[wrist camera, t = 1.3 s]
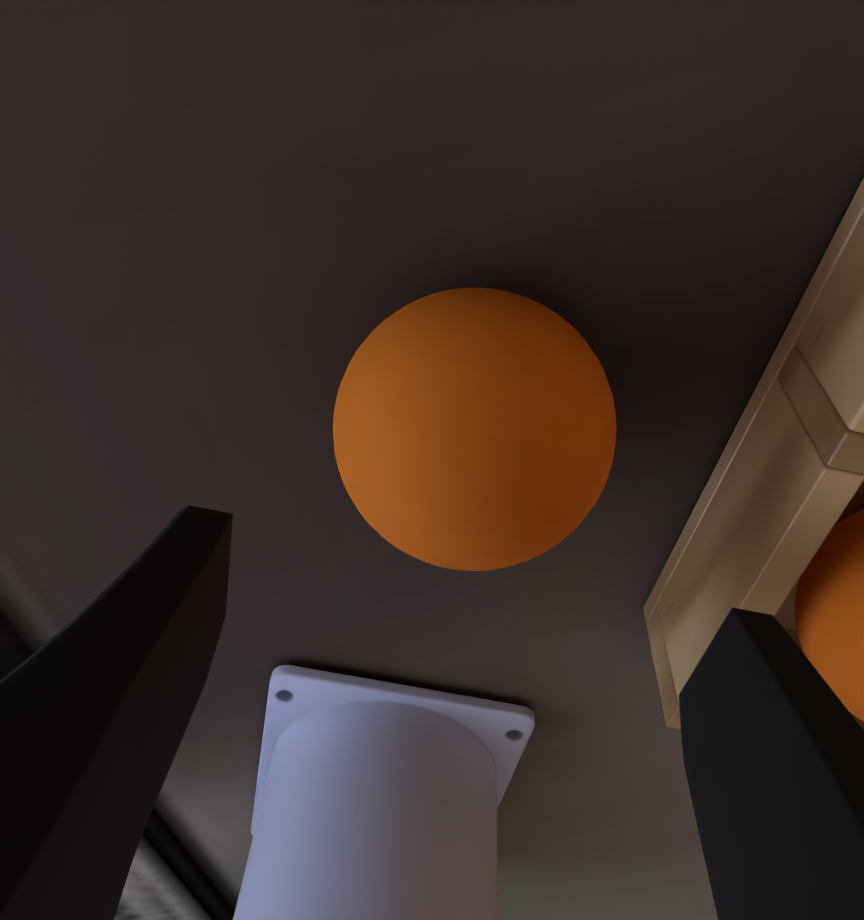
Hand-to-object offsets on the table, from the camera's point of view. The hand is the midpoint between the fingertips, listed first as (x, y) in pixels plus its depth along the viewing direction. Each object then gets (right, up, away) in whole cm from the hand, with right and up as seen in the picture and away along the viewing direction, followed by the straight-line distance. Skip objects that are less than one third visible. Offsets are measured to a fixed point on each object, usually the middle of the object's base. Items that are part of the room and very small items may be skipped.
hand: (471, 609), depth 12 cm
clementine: (0, +3, +4) cm, 5 cm away
